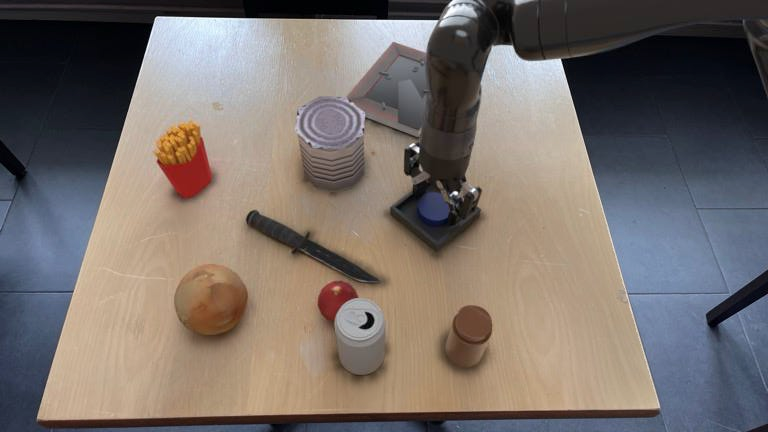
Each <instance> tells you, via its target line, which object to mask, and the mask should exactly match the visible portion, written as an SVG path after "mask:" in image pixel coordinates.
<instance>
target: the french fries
mask: <svg viewBox="0 0 768 432" xmlns="http://www.w3.org/2000/svg"><path fill="white" fill-rule="evenodd" d="M170 128H171V129H170ZM170 128H167V129H165V131H166V133H164V134H163V135H161V136H159V137H158V140H156V141H155V143H156V144H155V145H156V147H157V148H156V149H154V150H153V151H152V152H153V154H154V155H155V157H156V158H157V160H156V164H157V165H158V166H159V168H160V169H161V171H162V173H163V174H164V175H165V177H166V178H167V180H168V181H169V183H170V184H171V186H172V187H173V188H174V190H175V192H176V193H177V194H179V196H181V197H182V198H184V199H186V198H192V197H194V196H196V195H198V193H200V192H201V191H203V189H205V188H206V187H207V186H208V185H209V184H210V183H211V182H212V177H213V175H212V170H211V167H210V162H209V158H208V155H207V150H206V146H205V142H204V138H203V136H201V125H200V124H199V123H198V122H194V121H193V120H192V119H191V120H189V121H188V123H187V121H184V122H183V123H181V122H180V123H178V124H177V126H175V125H174V124H173V125H172V126H170ZM157 149H158V150H157Z"/></svg>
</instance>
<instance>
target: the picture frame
mask: <svg viewBox="0 0 768 432" xmlns="http://www.w3.org/2000/svg"><path fill="white" fill-rule="evenodd" d="M425 56H426V51H422V50H419V49H416V48H413V47H410V46H407V45H404V44H401V43H398V42H395V41H392V42H391V44H389V46H388V47H387V48H386V49H385V51H383V53H382V54H381V55H380V56H379V57H378V59H377V60H376V61H375V62H374V64H373V65H372V66H371V67H370V68H369V69H368V71H367V72H366V73H365V74H364V76H363V77H362V78H361V79H360V80H359V81H358V82H357V84H355V86H354V87H353V88H352V90H351V91H349V93H348V94H347V95H346V97H347V98H348V99H349V100H350V101H352V102H353V103H354V104H355V105H356V106H357V107H359V108H360V109H361V110H362V111H363V112H365V118H367V119H370V120H372V121H374V122H377V123H379V124H382V125H384V126H388V127H390V128H393V129H396V130H398V131H400V132H404V133H405V134H408V135H411V136H414V137H415V138H419V137H420V136H421V128H422V122H423V118H424V115H425V108H426V98H427V92H428V87H427V80H426V72H425Z"/></svg>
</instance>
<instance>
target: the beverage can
mask: <svg viewBox="0 0 768 432" xmlns="http://www.w3.org/2000/svg"><path fill="white" fill-rule="evenodd" d="M333 324H334V332H335V339H336V346H337V352H338V358H339V361H340V364H341V365H342V367H343V368H344V369H345V370H346V371H348V372H349V373H351V374H354V375H357V376H365V375H366V376H367V375H369V374H372V373H374V372H375V371H376V370H378V369H379V368H380V366H381V365H382V364H383V362H384V358H385V351H386V349H385V348H386V316H385V314H384V312H383V310H382V309H381V308H380V307H379V305H378V304H377V303H376V302H374V301H373V300H371V299H368V298H366V297H365V298H364V297H358V298H355V299H352V300H349V301H347V302H346V303H345V304H343V305H342V307H341V308H340V309H339V311H338V313H337V314H336V317H335V322H333Z"/></svg>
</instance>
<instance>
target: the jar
mask: <svg viewBox="0 0 768 432" xmlns="http://www.w3.org/2000/svg"><path fill="white" fill-rule="evenodd" d="M457 311H458V312H457V313H456V314H455V316H454V317H453V318H452V322H451V326H450V329H449V333H448V336H447V338H446V342H445V343H446V344H445V349H444V351H445V354H446V357H447V359H448V360H449V361H450V362H451V363H452V364H453V365H454V366H457V367H459V368H463V369H465V368H471V367H474V366H476V365H477V364H478V363H479V362H480V361H481V359H482V357H483V354H484V352H485V350H486V348H487V345H488V343H489V341H490V339H491V337H492V334H493V326H494V325H493V320H492V319H493V318H492V316H491V315H490V313H489V312H488V311H487V309H485V308H483V307H481V306H479V305H475V304H468V305H464V306H462V307H460V309H459V310H457Z"/></svg>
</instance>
